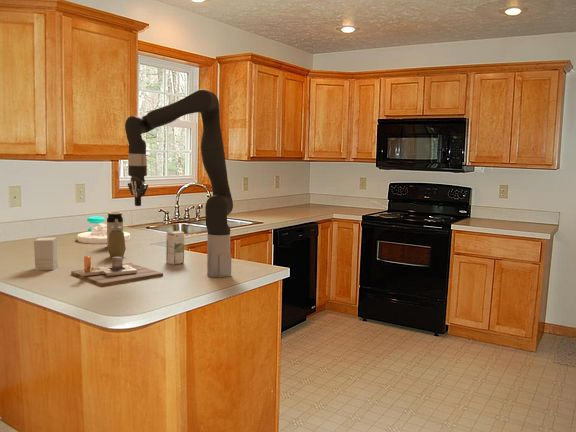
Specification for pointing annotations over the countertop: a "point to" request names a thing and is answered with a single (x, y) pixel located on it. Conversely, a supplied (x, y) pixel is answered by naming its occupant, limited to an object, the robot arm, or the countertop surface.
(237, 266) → the countertop surface
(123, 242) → the squeeze bottle
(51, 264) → the supplement box
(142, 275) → the post board
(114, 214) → the travel mug
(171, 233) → the syrup box
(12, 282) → the countertop surface
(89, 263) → the square frame with handle
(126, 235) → the cake
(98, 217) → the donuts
